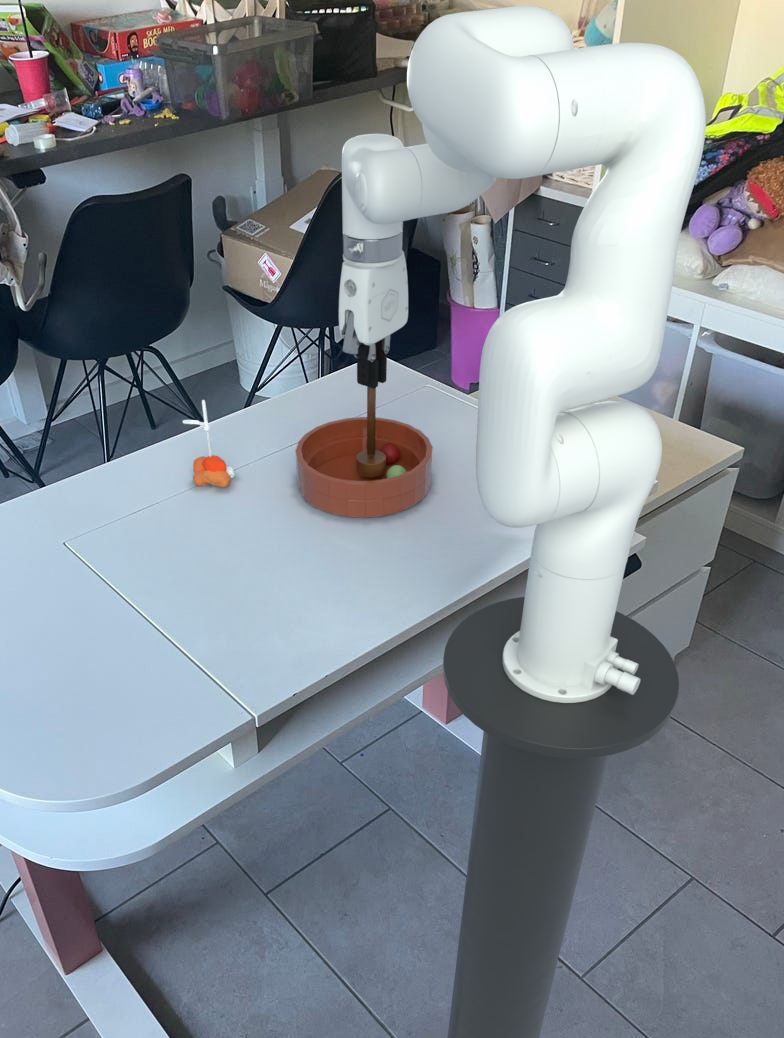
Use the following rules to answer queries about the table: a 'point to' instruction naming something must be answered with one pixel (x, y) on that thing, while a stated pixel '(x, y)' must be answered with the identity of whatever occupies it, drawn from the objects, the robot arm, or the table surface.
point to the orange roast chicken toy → (210, 462)
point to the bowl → (336, 481)
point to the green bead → (395, 471)
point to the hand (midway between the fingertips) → (371, 382)
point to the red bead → (391, 453)
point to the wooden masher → (371, 443)
